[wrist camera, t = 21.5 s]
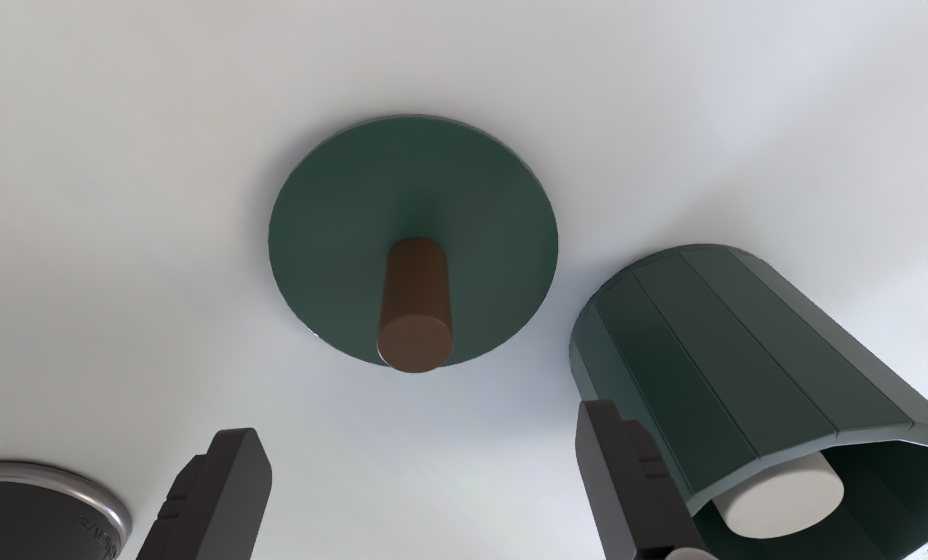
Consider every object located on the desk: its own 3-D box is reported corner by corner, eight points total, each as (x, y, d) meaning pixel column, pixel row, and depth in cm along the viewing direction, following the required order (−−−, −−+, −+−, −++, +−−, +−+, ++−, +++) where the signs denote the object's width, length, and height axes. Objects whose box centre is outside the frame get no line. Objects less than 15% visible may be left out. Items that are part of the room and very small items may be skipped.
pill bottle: (745, 339, 24) (882, 497, 16) (668, 395, 25) (762, 559, 18) (687, 290, 22) (815, 445, 15) (609, 355, 23) (688, 520, 16)
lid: (311, 363, 23) (278, 476, 18) (237, 121, 17) (156, 187, 12) (547, 343, 23) (581, 447, 18) (560, 98, 17) (617, 152, 12)
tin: (562, 418, 26) (627, 626, 18) (576, 253, 21) (680, 445, 12) (748, 400, 27) (897, 598, 18) (812, 234, 21) (1068, 408, 13)
